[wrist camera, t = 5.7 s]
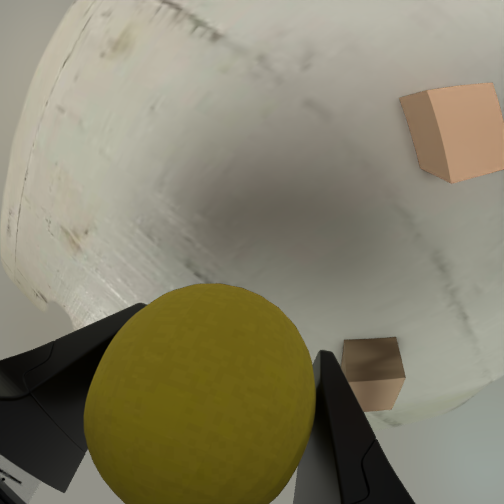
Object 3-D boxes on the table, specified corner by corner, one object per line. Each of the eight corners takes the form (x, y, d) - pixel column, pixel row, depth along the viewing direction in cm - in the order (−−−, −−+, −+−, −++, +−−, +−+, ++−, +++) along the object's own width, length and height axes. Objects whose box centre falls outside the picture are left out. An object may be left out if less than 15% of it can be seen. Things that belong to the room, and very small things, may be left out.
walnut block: (395, 336, 22) (405, 377, 17) (386, 370, 24) (391, 409, 19) (344, 339, 23) (346, 382, 19) (340, 373, 25) (339, 412, 21)
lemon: (251, 375, 11) (196, 541, 4) (150, 298, 11) (31, 455, 4) (353, 313, 9) (350, 564, 2) (230, 201, 8) (7, 461, 1)
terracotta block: (455, 88, 12) (492, 82, 8) (473, 154, 14) (511, 167, 9) (398, 98, 14) (426, 90, 9) (419, 168, 15) (451, 183, 11)
